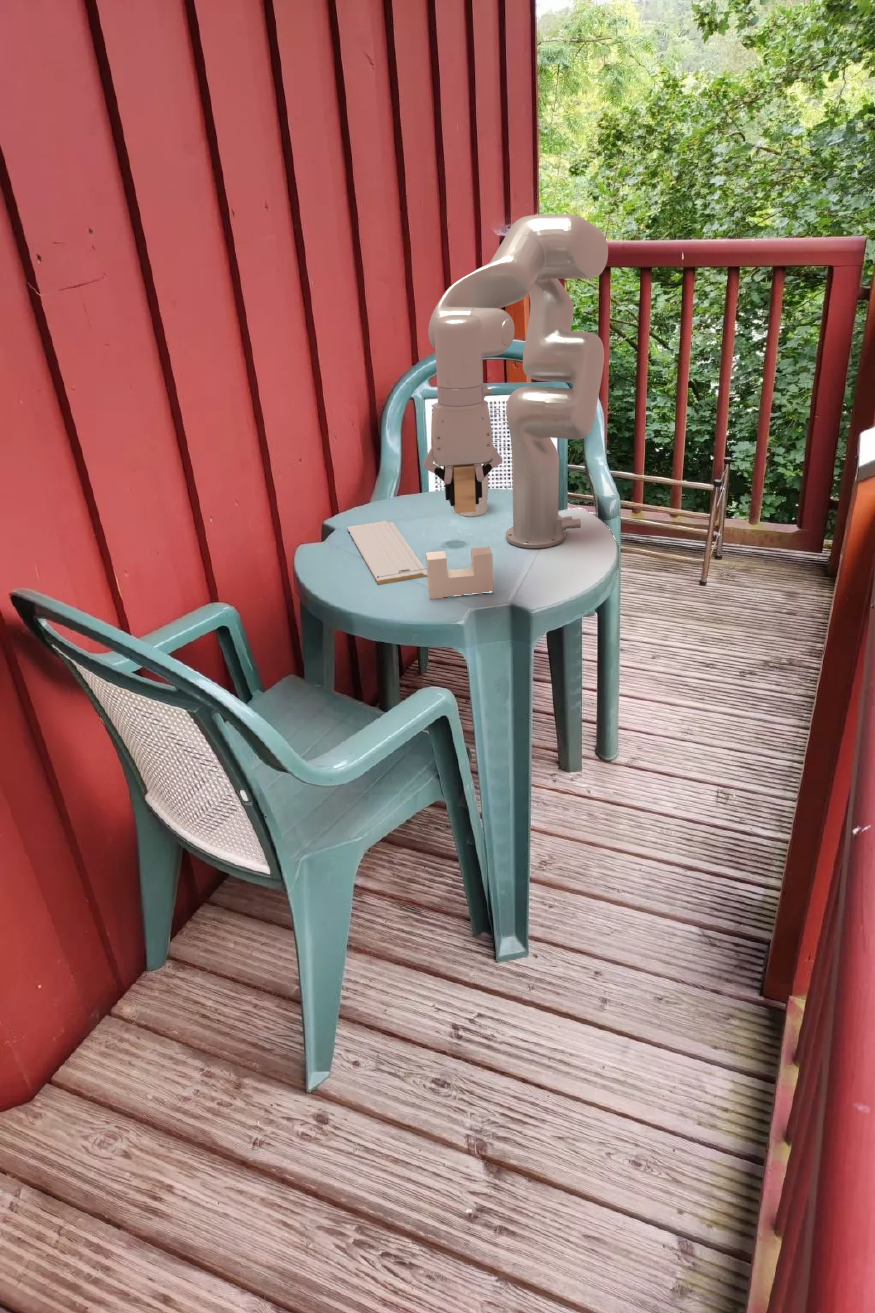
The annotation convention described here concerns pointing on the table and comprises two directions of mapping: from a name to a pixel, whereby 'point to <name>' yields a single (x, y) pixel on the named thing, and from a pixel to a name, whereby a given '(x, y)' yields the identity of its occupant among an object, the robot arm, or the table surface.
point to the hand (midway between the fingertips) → (463, 501)
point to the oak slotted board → (464, 488)
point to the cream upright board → (459, 574)
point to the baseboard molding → (386, 552)
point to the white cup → (480, 501)
